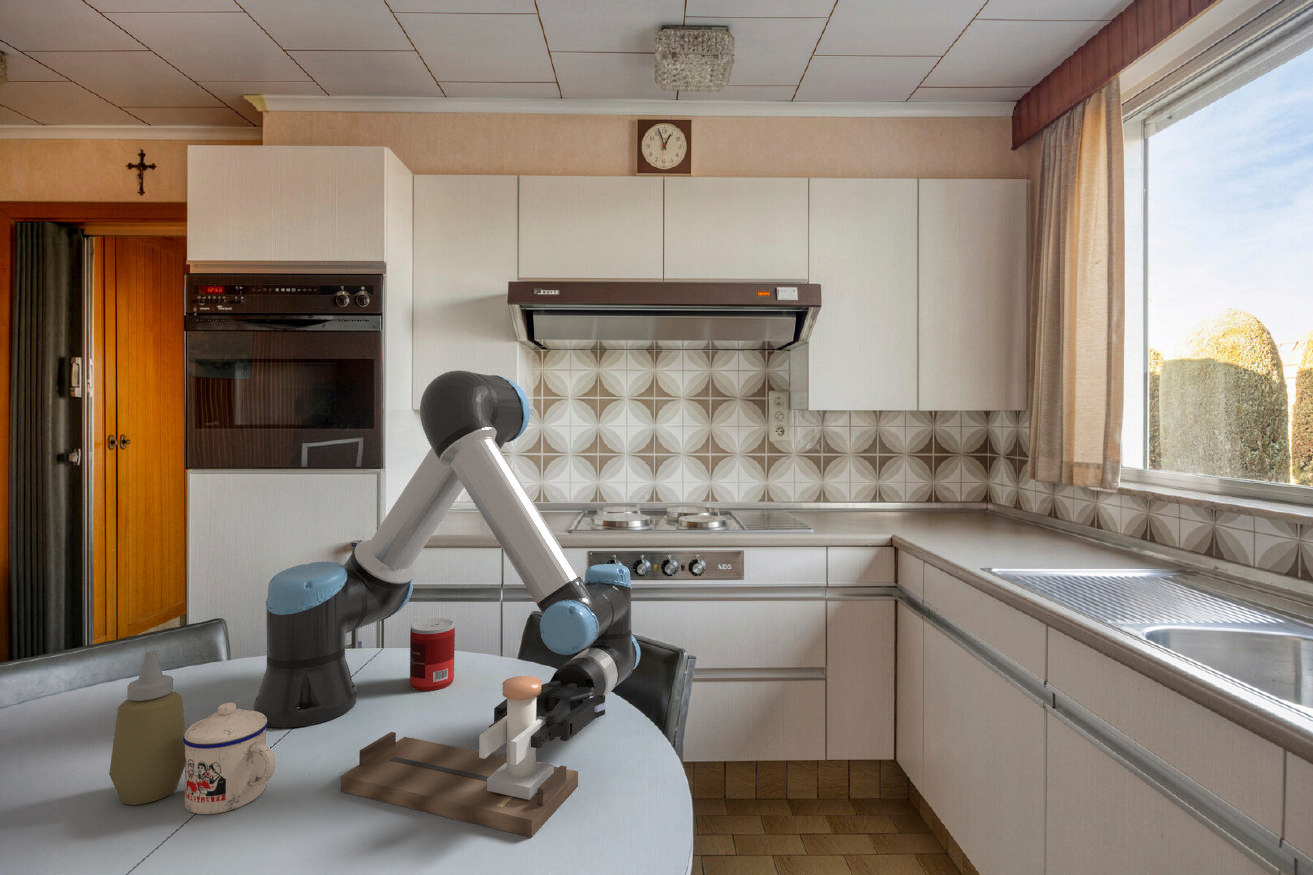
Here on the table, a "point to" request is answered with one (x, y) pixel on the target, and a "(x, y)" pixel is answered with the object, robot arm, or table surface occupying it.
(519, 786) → the fader
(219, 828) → the table surface
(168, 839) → the table surface
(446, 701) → the table surface
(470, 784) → the fader track
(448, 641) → the canned food
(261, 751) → the teacup with lid
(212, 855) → the table surface
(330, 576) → the robot arm
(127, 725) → the squeeze bottle
